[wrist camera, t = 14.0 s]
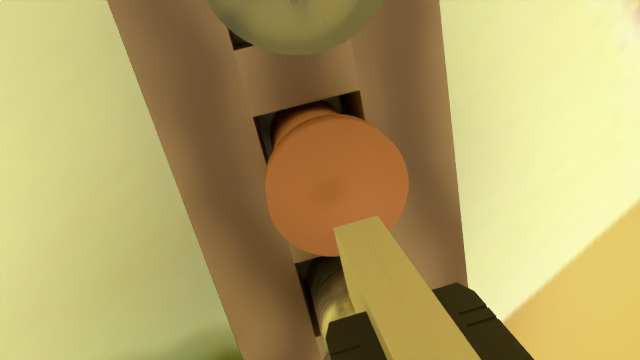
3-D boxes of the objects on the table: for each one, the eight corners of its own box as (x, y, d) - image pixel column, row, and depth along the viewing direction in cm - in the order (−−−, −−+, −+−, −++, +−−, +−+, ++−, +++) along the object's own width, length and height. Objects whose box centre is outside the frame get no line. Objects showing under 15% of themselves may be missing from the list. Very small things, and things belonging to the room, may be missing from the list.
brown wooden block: (251, 311, 37) (253, 385, 29) (113, -84, 25) (59, -127, 18) (427, 261, 38) (471, 320, 30) (370, -139, 26) (418, -200, 19)
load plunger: (272, 188, 30) (286, 272, 20) (247, 99, 27) (248, 143, 17) (361, 165, 30) (417, 235, 20) (343, 75, 28) (397, 105, 18)
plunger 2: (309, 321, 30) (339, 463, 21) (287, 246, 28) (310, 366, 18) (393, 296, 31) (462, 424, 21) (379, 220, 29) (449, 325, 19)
